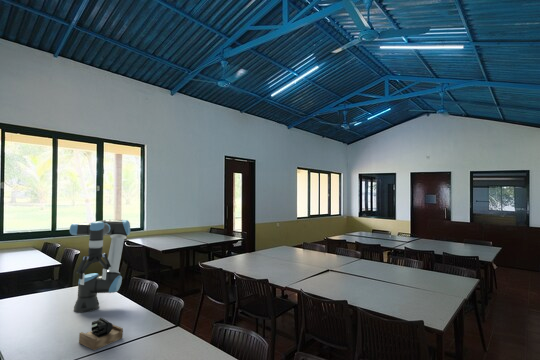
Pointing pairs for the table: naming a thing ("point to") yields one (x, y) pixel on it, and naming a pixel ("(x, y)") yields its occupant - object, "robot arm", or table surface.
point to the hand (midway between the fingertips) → (93, 281)
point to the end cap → (101, 327)
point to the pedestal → (95, 342)
